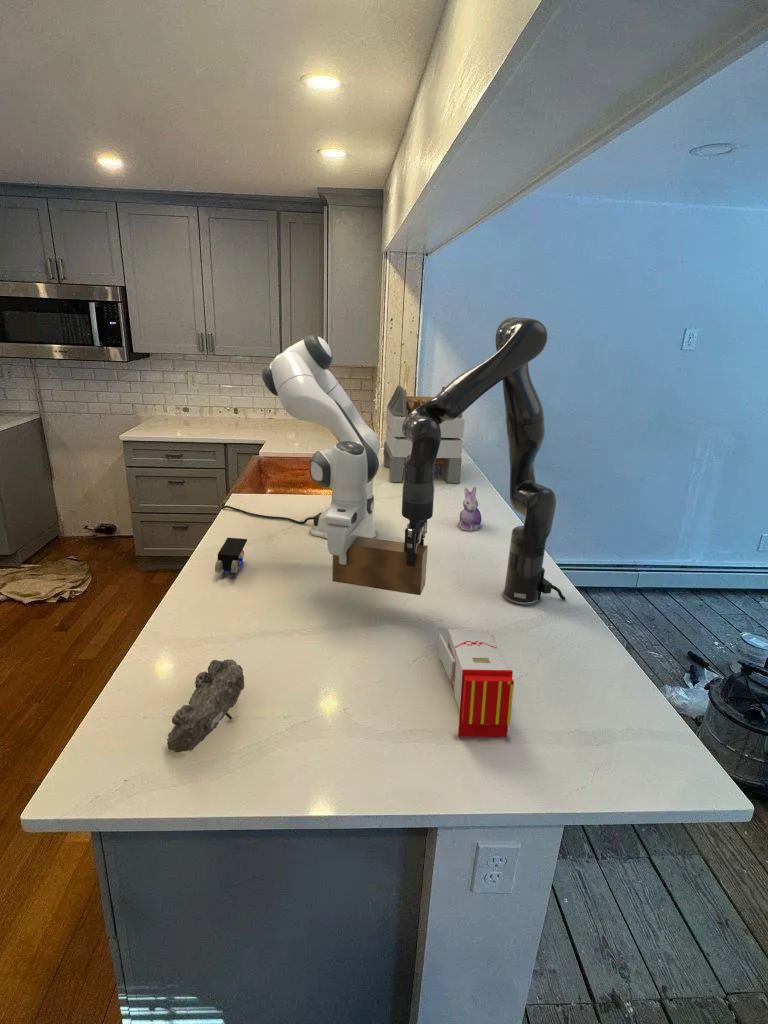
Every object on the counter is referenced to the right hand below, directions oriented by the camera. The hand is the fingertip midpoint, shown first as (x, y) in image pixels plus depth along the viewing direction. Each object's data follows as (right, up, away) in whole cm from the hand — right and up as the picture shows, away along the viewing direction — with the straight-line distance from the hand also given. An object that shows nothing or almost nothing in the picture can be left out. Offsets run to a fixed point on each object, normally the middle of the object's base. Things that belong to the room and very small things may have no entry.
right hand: (414, 558), depth 141 cm
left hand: (-17, 0, +5) cm, 18 cm away
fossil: (-40, -27, -33) cm, 59 cm away
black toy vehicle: (-53, -5, +26) cm, 59 cm away
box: (-9, -7, +5) cm, 12 cm away
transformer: (+10, +30, +134) cm, 137 cm away
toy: (+10, -26, -23) cm, 36 cm away
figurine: (+24, +6, +68) cm, 72 cm away
